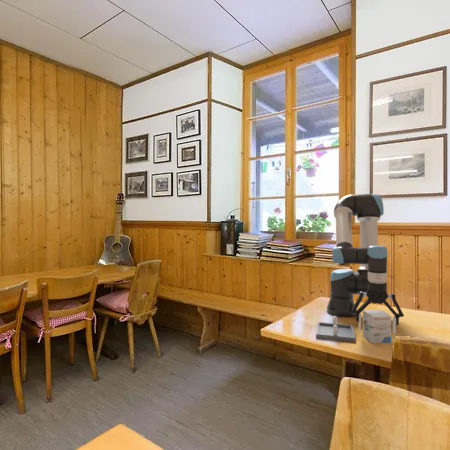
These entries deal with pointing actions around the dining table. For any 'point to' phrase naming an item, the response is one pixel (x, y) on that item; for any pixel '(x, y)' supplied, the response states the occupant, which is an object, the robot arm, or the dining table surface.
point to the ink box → (377, 326)
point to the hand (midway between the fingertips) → (376, 330)
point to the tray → (341, 332)
